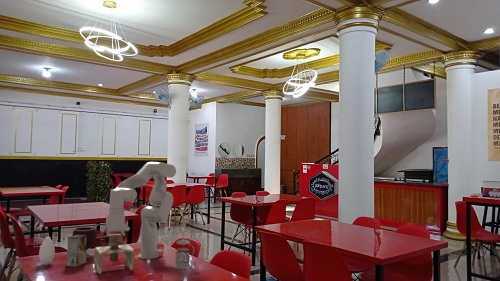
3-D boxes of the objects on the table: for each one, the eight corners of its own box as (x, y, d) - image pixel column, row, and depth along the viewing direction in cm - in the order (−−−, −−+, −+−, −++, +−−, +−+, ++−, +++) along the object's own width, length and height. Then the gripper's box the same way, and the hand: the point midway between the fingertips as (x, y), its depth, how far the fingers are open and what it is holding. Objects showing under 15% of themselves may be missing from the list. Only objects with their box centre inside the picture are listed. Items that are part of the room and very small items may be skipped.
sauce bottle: (56, 264, 217) (58, 232, 218) (41, 267, 211) (43, 234, 213) (51, 262, 222) (52, 231, 224) (36, 264, 217) (38, 232, 218)
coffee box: (76, 261, 225) (78, 234, 226) (86, 262, 223) (87, 235, 224) (66, 265, 216) (67, 237, 217) (76, 266, 214) (77, 237, 215)
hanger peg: (118, 258, 218) (120, 233, 219) (121, 261, 212) (122, 235, 213) (106, 259, 214) (107, 234, 215) (108, 262, 208) (109, 236, 209)
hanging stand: (126, 263, 224) (127, 244, 224) (132, 269, 212) (133, 249, 212) (94, 267, 214) (95, 247, 215) (98, 273, 202) (99, 252, 203)
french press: (172, 264, 224) (173, 221, 226) (191, 263, 229) (192, 221, 230) (175, 269, 215) (177, 224, 217) (195, 267, 220) (197, 223, 221)
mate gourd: (68, 259, 230) (70, 225, 231) (73, 254, 243) (75, 222, 245) (96, 258, 234) (97, 225, 235) (99, 253, 247) (101, 222, 248)
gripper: (130, 209, 223) (128, 240, 221) (98, 210, 214) (97, 243, 213) (133, 211, 216) (132, 243, 215) (101, 212, 207) (99, 245, 206)
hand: (114, 242), depth 214 cm, fingers closed on hanger peg, 7 cm apart
